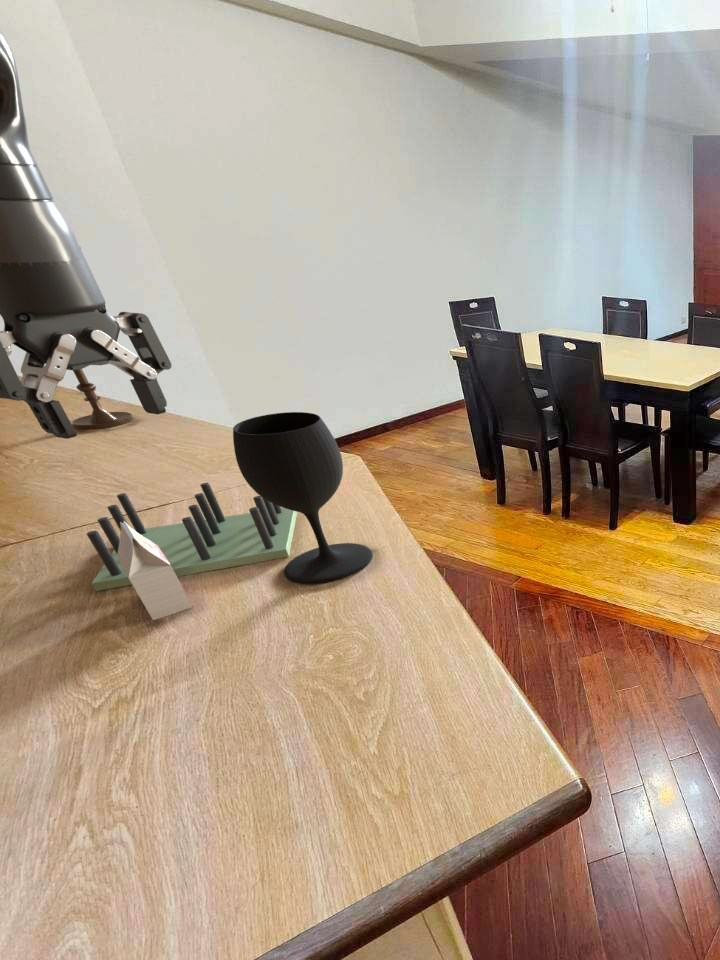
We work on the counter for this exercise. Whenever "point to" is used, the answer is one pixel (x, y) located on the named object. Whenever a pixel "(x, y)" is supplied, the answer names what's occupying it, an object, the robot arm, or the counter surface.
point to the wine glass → (299, 485)
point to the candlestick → (97, 408)
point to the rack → (200, 538)
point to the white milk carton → (151, 574)
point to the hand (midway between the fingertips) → (113, 424)
